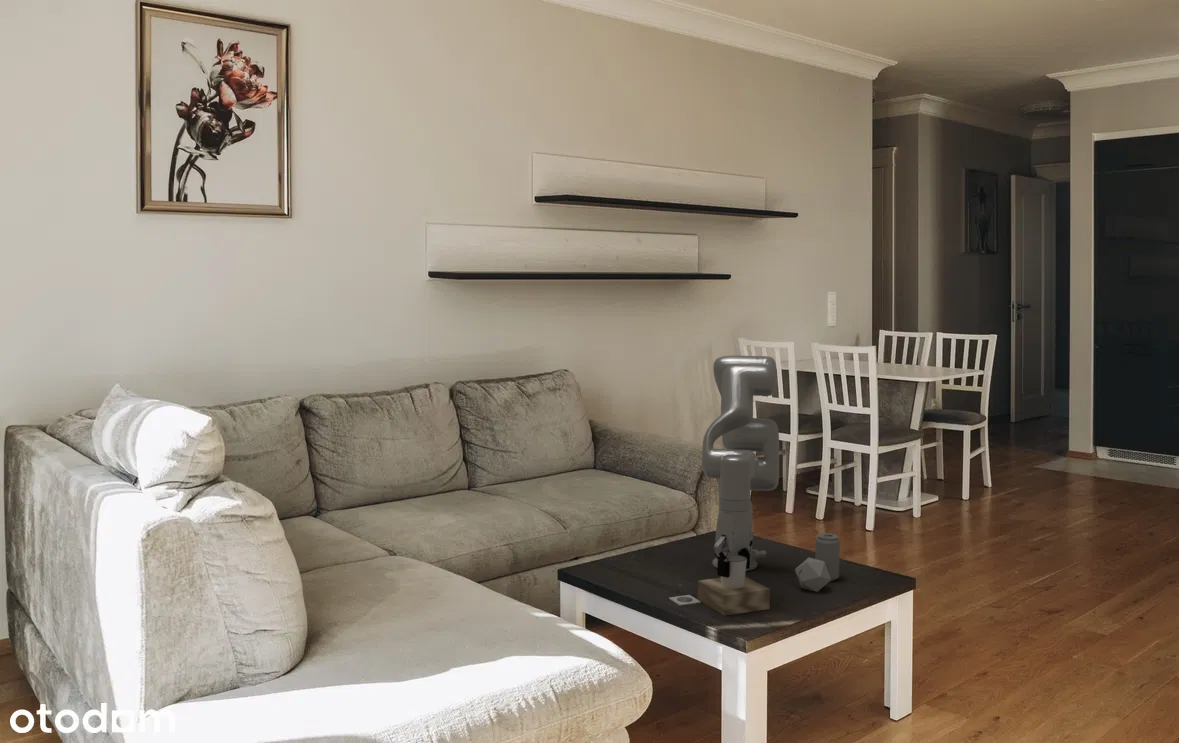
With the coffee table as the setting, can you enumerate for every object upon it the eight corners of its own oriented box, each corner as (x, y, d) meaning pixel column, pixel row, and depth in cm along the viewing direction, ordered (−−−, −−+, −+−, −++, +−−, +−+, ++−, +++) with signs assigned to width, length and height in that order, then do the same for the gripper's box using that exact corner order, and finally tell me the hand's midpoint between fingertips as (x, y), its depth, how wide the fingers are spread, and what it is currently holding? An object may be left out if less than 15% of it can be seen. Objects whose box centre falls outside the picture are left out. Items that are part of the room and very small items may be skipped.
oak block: (741, 593, 253) (742, 574, 253) (769, 608, 241) (770, 589, 241) (697, 599, 248) (698, 580, 248) (724, 615, 236) (724, 595, 236)
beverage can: (840, 576, 268) (841, 534, 267) (836, 583, 262) (837, 539, 261) (817, 573, 271) (818, 531, 270) (812, 580, 265) (813, 536, 264)
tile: (689, 595, 251) (689, 594, 251) (700, 602, 246) (700, 601, 246) (668, 598, 249) (668, 597, 249) (679, 605, 243) (679, 604, 243)
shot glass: (746, 590, 240) (746, 562, 239) (718, 588, 241) (718, 560, 241) (746, 581, 247) (747, 554, 246) (719, 580, 248) (719, 553, 247)
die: (799, 584, 263) (786, 560, 259) (827, 569, 263) (815, 545, 258) (810, 604, 256) (797, 579, 252) (839, 588, 255) (827, 564, 251)
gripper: (739, 496, 251) (738, 561, 253) (703, 508, 238) (702, 577, 240) (765, 501, 247) (764, 567, 248) (729, 513, 233) (728, 583, 235)
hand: (733, 571), depth 244 cm, fingers open, 9 cm apart
